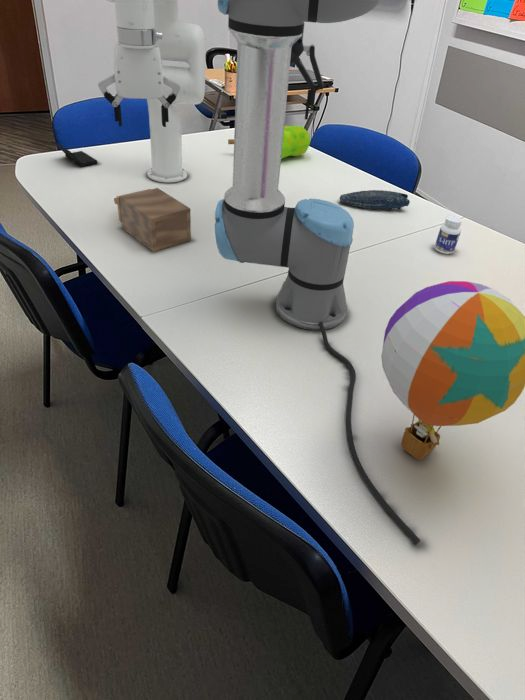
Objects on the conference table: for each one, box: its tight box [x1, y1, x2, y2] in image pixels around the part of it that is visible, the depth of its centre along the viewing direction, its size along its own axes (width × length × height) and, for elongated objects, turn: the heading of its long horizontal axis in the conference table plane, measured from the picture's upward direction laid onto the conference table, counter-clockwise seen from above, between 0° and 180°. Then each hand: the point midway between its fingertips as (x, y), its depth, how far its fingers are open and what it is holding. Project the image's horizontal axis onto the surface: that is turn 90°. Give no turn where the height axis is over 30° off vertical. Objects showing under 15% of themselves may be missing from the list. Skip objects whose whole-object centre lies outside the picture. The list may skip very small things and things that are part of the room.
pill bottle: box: [434, 215, 463, 255], centre depth 137 cm, size 5×5×9 cm
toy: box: [380, 280, 525, 461], centre depth 74 cm, size 20×20×30 cm
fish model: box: [339, 189, 411, 211], centre depth 158 cm, size 7×21×5 cm, turn 84°
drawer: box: [113, 188, 152, 223], centre depth 136 cm, size 19×10×7 cm, turn 41°
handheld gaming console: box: [53, 140, 98, 167], centre depth 169 cm, size 12×7×10 cm
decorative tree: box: [227, 125, 311, 160], centre depth 186 cm, size 18×10×30 cm
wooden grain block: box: [118, 187, 192, 253], centre depth 132 cm, size 15×11×9 cm
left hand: (142, 125), depth 117 cm, fingers open, 9 cm apart
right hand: (280, 115), depth 134 cm, fingers open, 13 cm apart
